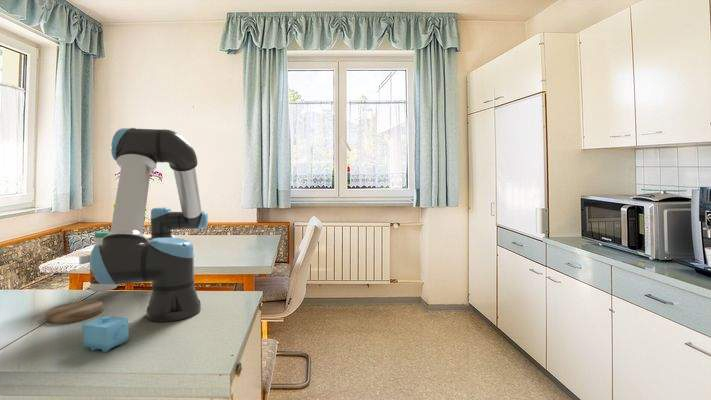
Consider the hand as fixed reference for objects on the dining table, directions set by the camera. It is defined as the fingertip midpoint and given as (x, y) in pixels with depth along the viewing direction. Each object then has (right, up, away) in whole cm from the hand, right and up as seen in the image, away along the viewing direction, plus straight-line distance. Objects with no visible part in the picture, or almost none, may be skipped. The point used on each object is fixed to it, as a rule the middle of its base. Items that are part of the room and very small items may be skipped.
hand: (90, 260), depth 119 cm
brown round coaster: (+3, -15, -10) cm, 18 cm away
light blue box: (+28, -16, -31) cm, 44 cm away
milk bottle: (+1, -11, +5) cm, 12 cm away
